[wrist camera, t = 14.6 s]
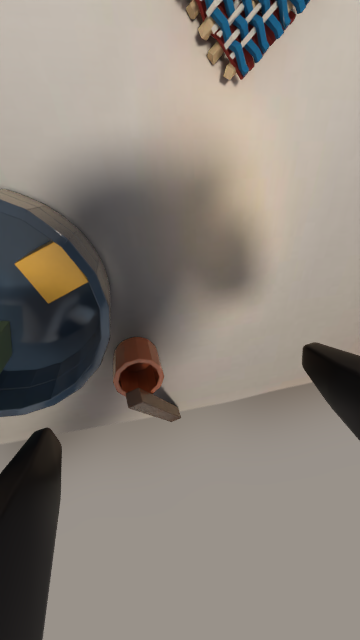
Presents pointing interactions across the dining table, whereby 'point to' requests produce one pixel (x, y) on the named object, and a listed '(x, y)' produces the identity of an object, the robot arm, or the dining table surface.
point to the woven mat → (243, 28)
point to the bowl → (48, 310)
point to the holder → (136, 366)
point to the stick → (151, 405)
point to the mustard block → (51, 271)
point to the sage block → (5, 344)
